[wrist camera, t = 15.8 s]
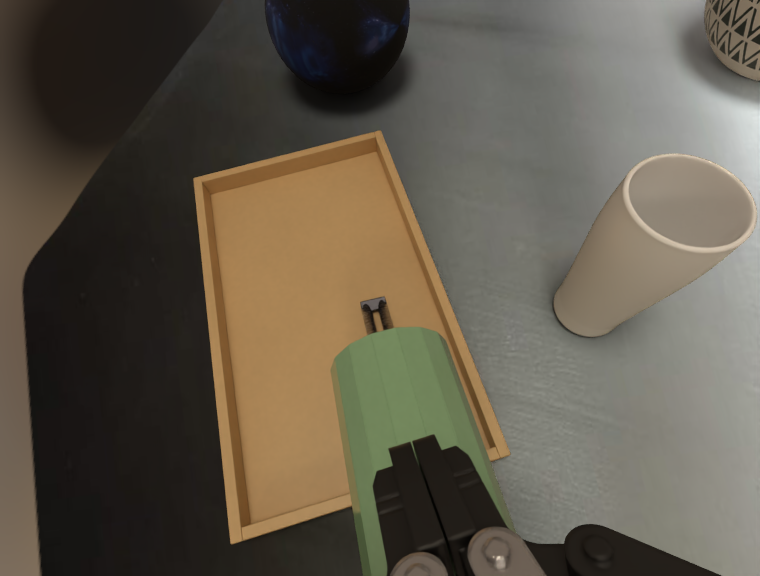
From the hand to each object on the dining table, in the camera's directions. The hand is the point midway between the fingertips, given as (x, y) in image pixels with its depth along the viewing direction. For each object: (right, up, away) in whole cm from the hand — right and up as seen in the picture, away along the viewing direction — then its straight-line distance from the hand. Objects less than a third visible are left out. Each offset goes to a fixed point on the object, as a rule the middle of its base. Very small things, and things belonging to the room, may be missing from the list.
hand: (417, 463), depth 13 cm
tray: (-6, +4, +25) cm, 25 cm away
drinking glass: (+16, +3, +23) cm, 28 cm away
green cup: (+2, -10, +8) cm, 13 cm away
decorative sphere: (-5, +31, +38) cm, 49 cm away
